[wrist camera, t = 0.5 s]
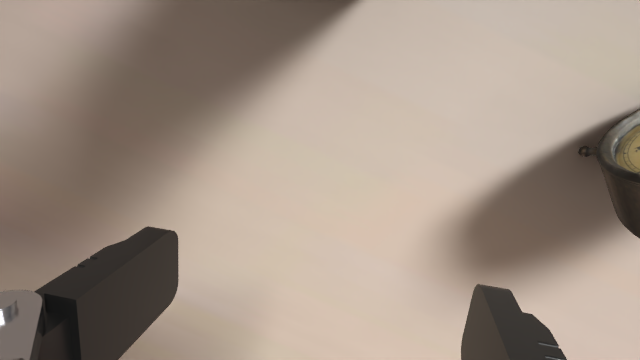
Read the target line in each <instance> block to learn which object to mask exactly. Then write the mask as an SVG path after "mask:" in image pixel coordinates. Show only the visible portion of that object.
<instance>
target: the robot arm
mask: <svg viewBox="0 0 640 360" xmlns="http://www.w3.org/2000/svg"><path fill="white" fill-rule="evenodd" d="M177 287H178V236H177V234H176V232H175V231H171V230H165V229H160V228H154V227H145V228H144V229H142V230H141V231H139V232H137V233H136V234H134V235H133V236H131V237H130V238H128V239H127V240H125V241H122V242H119V243H116V244H113V245H110V246H107V247H105V248H103V249H102V250H100V251H99V252H97V253H95V254H94V255H92V256H91V257H90V259H88V258H87V259H86V260H84V261H83V262H81V263H79V264H78V266H77V267H73V268H71V269H70V270H68V271H67V272H65V273H63V274H62V275H60V276H59V277H57V278H55V279H54V280H52V281H51V282H49V283H47V284H46V285H44V286H43V287H41V288H39V289H38V290H36V291H35V292H32V291H27V290H10V291H3V292H0V360H118V359H119V358H120V357H121V356H122V355H123V354H124V353H125V352H126V351H127V350H128V348H129V347H130V346H131V345H132V344H133V343H134V342H135V341H136V340H137V339H138V338H139V337H140V336H141V335H142V334H143V333H144V331H145V330H146V329H147V328H148V327H149V326H150V325H151V324H152V323H153V322H154V321H155V320H156V319H157V318H158V317H159V316H160V314H161V313H162V312H163V311H164V310H165V309H166V308H167V307H168V306H169V305H170V304H171V302H172V301H173V299H174V297H175V294H176V291H177ZM558 346H559V345H558V344H557V342H556V340H555V339H554V337H553V335H552V333H551V332H550V330H549V329H548V328H547V327H546V326H545V325H544V324H542V323H541V322H540V321H539V320H538V319H537V318H536V317H535V316H533V315H532V314H528V313H523V312H522V311H521V309H520V307H519V305H518V303H517V302H516V300H515V298H514V296H513V294H512V292H511V291H510V290H509V289H503V288H497V287H492V286H486V285H480V284H477V285H476V287H475V289H474V291H473V295H472V299H471V304H470V308H469V312H468V316H467V320H466V325H465V329H464V333H463V338H462V345H461V360H567V359H566V357H565V355H564V354H563V352H562V350H561V349H559V348H558Z"/></svg>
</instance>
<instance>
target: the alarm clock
mask: <svg viewBox="0 0 640 360" xmlns="http://www.w3.org/2000/svg"><path fill="white" fill-rule="evenodd" d="M578 153H579V154H580V155H581V156H585V157H587V156H589V155H595V156H597V159H598V161H599V163H600V165H601V168H602V171H603V174H604V177H605V180H606V183H607V186H608V190H609V193H610V196H611V199H612V202H613V205H614V208H615V211H616V214H617V216H618V218H619V219H620V221H621V222H622V224H623V225H624V226H625V227H626V228H627V229H628V230H629V231H630V232H632V233H633V234H634V235H635V236H637V237H638V238H640V109H639V110H637V111H635V112H634V113H632V114H630V115H629V116H627V117H626V118H624V119H623V120H621V121H619V122H618V123H617V124H616V125H615V126H613V127H612V128H611V129H610V130H609V131H608V132H607V133H606V134H605V135H604V136H603V138H602V139H601V141H600V142H599V145H598V147H593V148H589V147H587V146H582V147H580V148H579V151H578Z"/></svg>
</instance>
